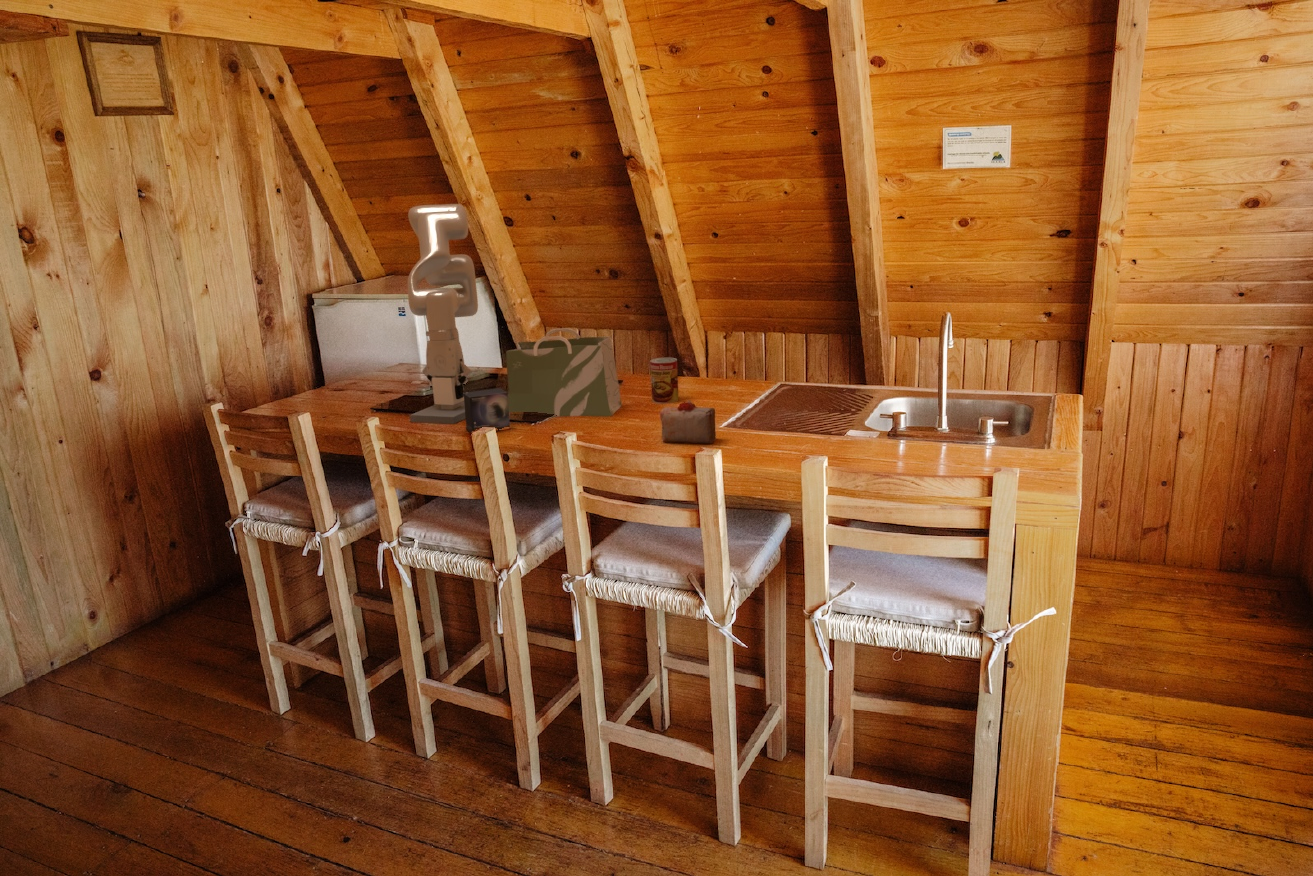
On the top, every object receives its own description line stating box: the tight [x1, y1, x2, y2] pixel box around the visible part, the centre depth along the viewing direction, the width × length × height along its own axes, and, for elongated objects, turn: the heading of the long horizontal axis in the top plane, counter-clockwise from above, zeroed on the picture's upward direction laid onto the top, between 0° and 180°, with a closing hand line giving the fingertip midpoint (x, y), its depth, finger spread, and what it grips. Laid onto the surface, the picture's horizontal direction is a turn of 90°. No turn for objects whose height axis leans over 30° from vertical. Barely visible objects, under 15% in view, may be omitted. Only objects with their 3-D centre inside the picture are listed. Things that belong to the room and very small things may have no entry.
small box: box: [463, 387, 511, 434], centre depth 253 cm, size 11×6×10 cm, turn 117°
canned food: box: [649, 357, 679, 404], centre depth 278 cm, size 8×8×12 cm
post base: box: [409, 401, 466, 425], centre depth 272 cm, size 20×14×8 cm
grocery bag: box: [505, 327, 622, 418], centre depth 269 cm, size 32×14×23 cm, turn 77°
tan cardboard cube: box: [432, 376, 465, 405], centre depth 271 cm, size 6×6×8 cm
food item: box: [658, 399, 717, 445], centre depth 234 cm, size 14×8×10 cm, turn 73°
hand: (449, 397), depth 272 cm, fingers closed on tan cardboard cube, 6 cm apart
